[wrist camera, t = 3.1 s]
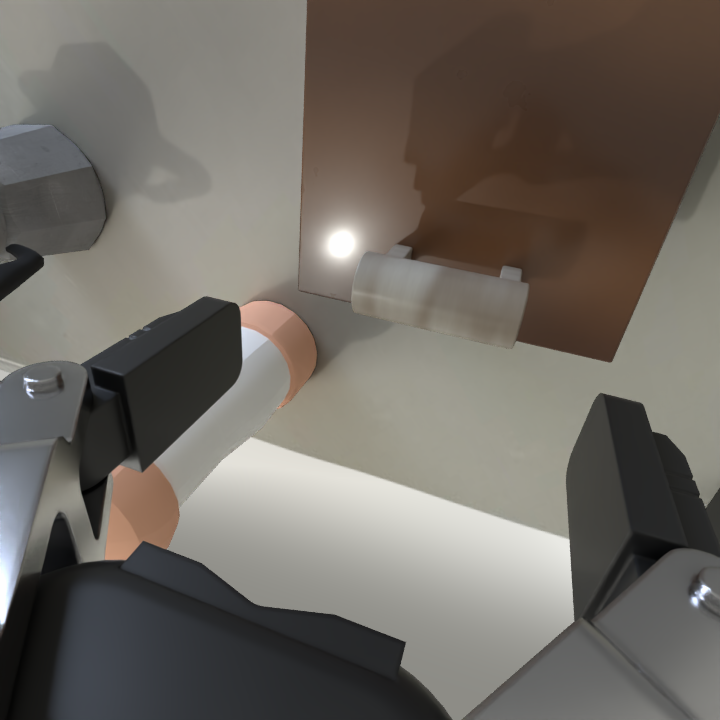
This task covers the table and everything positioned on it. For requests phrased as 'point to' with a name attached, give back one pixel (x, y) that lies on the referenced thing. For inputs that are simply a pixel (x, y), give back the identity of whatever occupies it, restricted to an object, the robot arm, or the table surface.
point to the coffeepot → (44, 200)
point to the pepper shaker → (213, 429)
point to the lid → (501, 159)
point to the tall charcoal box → (715, 514)
